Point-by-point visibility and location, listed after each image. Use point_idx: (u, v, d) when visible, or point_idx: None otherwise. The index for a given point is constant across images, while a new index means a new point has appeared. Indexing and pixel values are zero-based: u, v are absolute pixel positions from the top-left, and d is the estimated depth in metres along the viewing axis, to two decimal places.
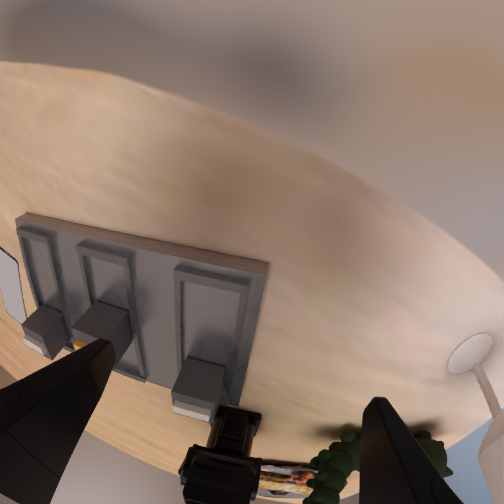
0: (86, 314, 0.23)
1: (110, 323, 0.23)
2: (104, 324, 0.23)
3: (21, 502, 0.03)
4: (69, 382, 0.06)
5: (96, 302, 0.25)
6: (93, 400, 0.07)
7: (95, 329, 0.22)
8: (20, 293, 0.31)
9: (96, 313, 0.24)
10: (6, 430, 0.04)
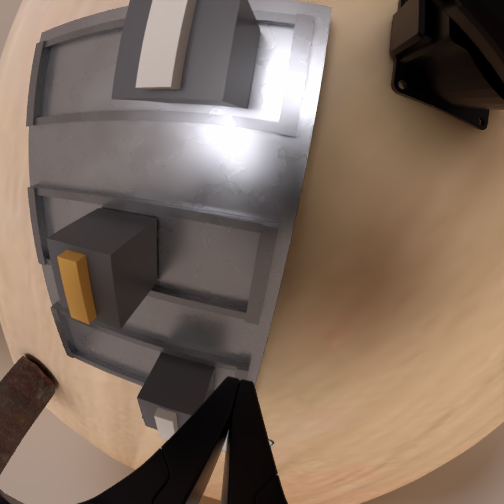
0: None
1: None
2: None
3: None
4: (220, 438, 0.06)
5: None
6: (222, 445, 0.07)
7: None
8: None
9: None
10: None
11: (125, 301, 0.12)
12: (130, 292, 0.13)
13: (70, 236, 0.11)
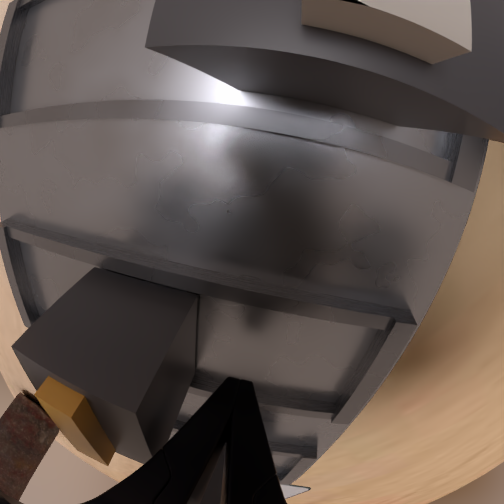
0: None
1: None
2: None
3: None
4: (221, 438, 0.06)
5: None
6: (223, 445, 0.07)
7: None
8: None
9: None
10: None
11: (160, 437, 0.07)
12: (166, 420, 0.07)
13: (50, 347, 0.06)
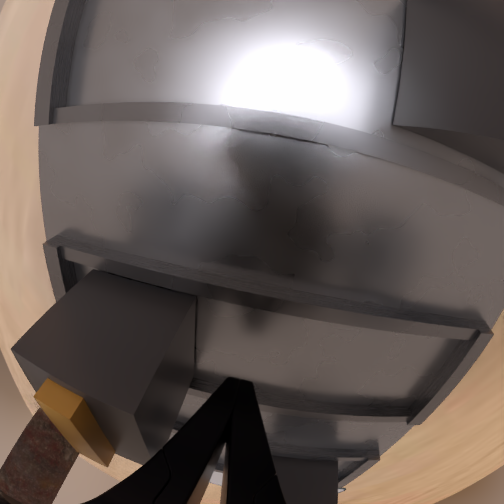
0: None
1: None
2: None
3: None
4: (221, 438, 0.06)
5: None
6: (223, 445, 0.07)
7: None
8: None
9: None
10: None
11: (159, 439, 0.07)
12: (165, 422, 0.07)
13: (49, 349, 0.06)
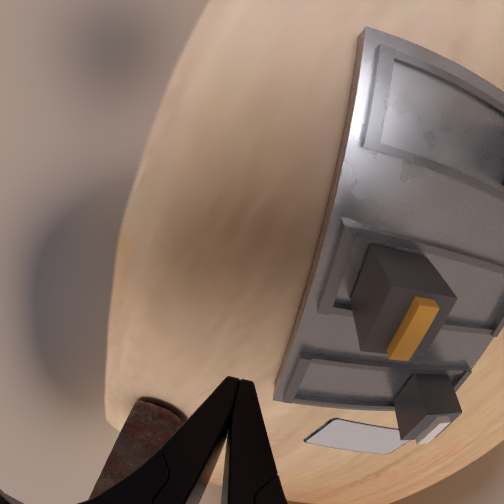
0: (357, 319, 0.15)
1: (375, 274, 0.14)
2: (373, 285, 0.13)
3: None
4: (220, 438, 0.06)
5: (351, 300, 0.17)
6: (222, 445, 0.07)
7: (374, 303, 0.13)
8: (374, 427, 0.26)
9: (360, 300, 0.15)
10: None
11: None
12: None
13: (408, 282, 0.12)
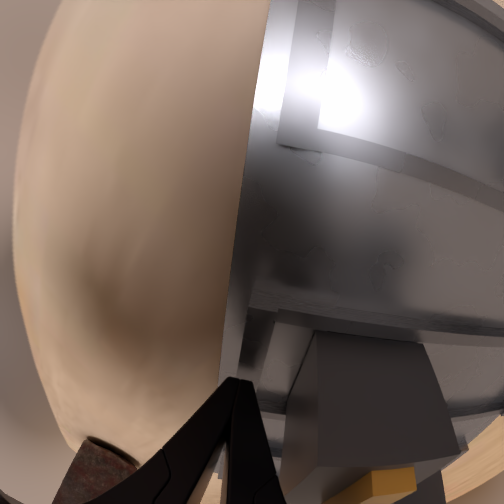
0: (284, 446, 0.08)
1: (309, 402, 0.07)
2: (304, 421, 0.07)
3: None
4: (220, 438, 0.06)
5: (288, 403, 0.10)
6: (223, 445, 0.07)
7: (298, 457, 0.06)
8: None
9: (292, 420, 0.08)
10: None
11: None
12: None
13: (364, 443, 0.05)
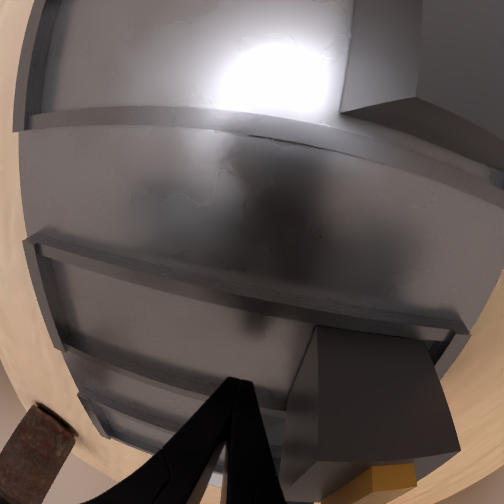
0: (284, 442, 0.08)
1: (309, 397, 0.07)
2: (304, 417, 0.07)
3: None
4: (220, 438, 0.06)
5: (288, 399, 0.10)
6: (223, 445, 0.07)
7: (298, 452, 0.06)
8: None
9: (292, 416, 0.08)
10: None
11: None
12: None
13: (364, 437, 0.05)
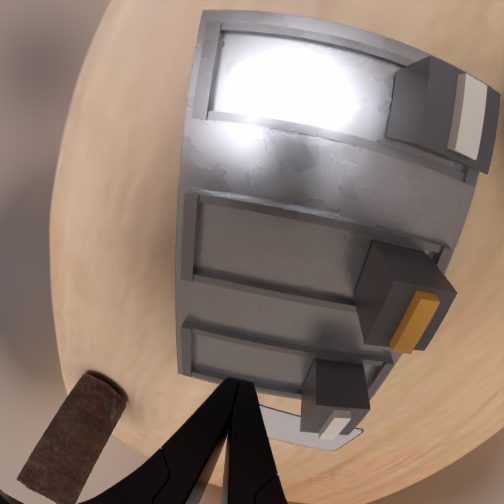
0: (360, 313, 0.15)
1: (378, 270, 0.14)
2: (376, 281, 0.14)
3: None
4: (220, 438, 0.06)
5: (354, 295, 0.17)
6: (222, 445, 0.07)
7: (377, 298, 0.13)
8: None
9: (363, 295, 0.15)
10: None
11: None
12: None
13: (409, 277, 0.12)
